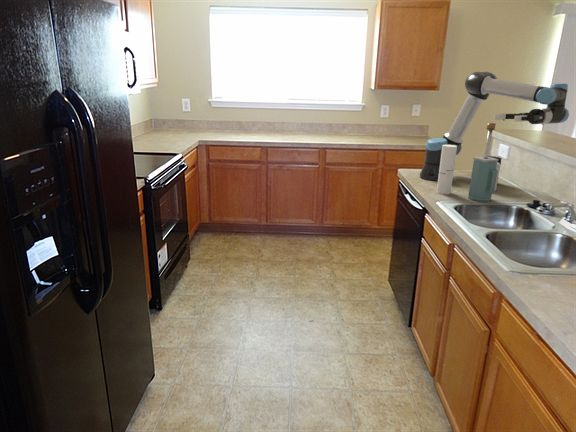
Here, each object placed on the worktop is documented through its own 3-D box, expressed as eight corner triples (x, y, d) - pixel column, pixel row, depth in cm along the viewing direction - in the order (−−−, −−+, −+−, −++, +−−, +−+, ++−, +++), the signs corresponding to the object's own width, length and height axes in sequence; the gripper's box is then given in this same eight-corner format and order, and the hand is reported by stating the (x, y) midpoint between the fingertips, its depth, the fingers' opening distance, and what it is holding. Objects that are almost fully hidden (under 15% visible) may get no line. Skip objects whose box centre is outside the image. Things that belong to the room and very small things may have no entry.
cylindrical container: (451, 194, 229) (458, 147, 221) (437, 193, 230) (443, 146, 222) (449, 191, 236) (455, 145, 228) (435, 190, 237) (441, 144, 229)
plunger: (472, 172, 220) (480, 122, 212) (483, 172, 222) (491, 122, 214) (482, 176, 213) (491, 124, 205) (494, 175, 216) (503, 124, 208)
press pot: (463, 197, 225) (469, 156, 218) (480, 195, 228) (486, 155, 222) (482, 204, 213) (489, 161, 206) (499, 202, 216) (506, 160, 210)
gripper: (559, 125, 208) (523, 127, 202) (519, 122, 231) (485, 123, 225) (561, 109, 206) (525, 111, 200) (521, 107, 229) (487, 109, 223)
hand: (504, 117), depth 213 cm, fingers open, 13 cm apart
